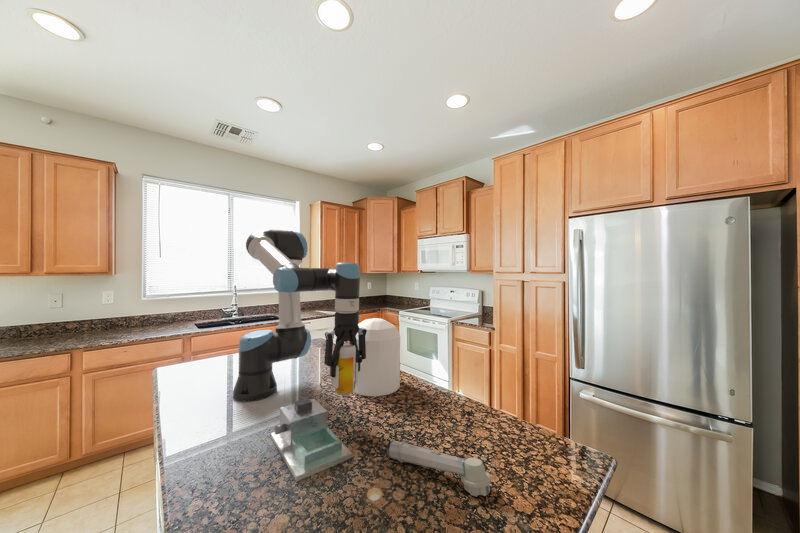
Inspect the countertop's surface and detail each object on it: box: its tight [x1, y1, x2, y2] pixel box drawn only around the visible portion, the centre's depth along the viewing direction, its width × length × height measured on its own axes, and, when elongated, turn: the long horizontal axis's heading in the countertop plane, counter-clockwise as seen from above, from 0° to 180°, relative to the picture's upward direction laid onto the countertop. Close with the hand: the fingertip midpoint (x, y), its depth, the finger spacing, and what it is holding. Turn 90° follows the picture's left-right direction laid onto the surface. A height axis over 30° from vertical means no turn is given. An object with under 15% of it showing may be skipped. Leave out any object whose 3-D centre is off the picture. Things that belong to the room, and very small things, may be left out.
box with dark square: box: [270, 398, 353, 483], centre depth 78 cm, size 22×14×10 cm, turn 38°
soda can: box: [334, 342, 356, 397], centre depth 92 cm, size 6×6×15 cm
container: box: [353, 317, 401, 397], centre depth 121 cm, size 21×21×28 cm
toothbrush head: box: [386, 440, 492, 497], centre depth 68 cm, size 5×7×25 cm
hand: (345, 384), depth 92 cm, fingers closed on soda can, 6 cm apart
